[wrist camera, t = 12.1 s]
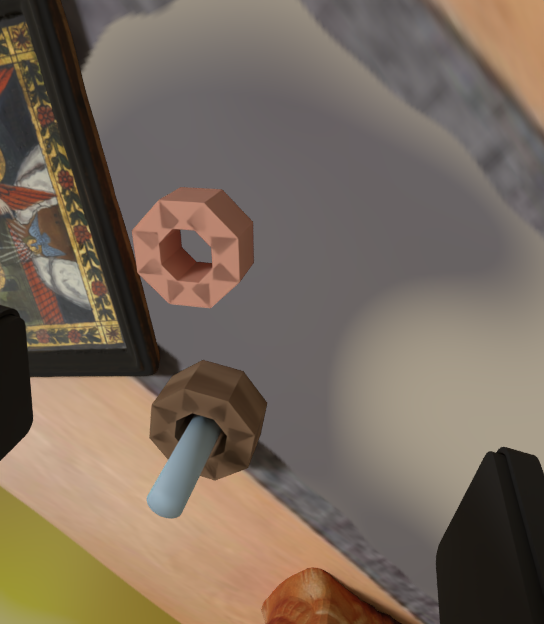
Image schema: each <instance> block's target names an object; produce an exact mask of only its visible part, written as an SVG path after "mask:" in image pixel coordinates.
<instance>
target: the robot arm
mask: <svg viewBox="0 0 544 624" xmlns="http://www.w3.org/2000/svg"><path fill="white" fill-rule="evenodd" d="M32 422H33V410H32V397H31V385H30V373H29V360H28V348H27V336H26V325H25V321H24V320H23V319H22V318H20V314H19V313H18V311H17V310H15V309H13V308H10V307H6V306H3V305H0V461H1V460H2V459H3V458H4V457H5V456H6V455H7V454H8V453H9V452H10V451H11V450H12V449H13V448H14V447H15V446H16V445H17V444H18V443H19V442H20V441H21V440H22V439H23V438H24V437H25V435H26V434H27V433H28V432H29V430H30V428H31V425H32ZM436 573H437V587H438V601H439V615H440V624H544V473H543V470H542V467H541V464H540V462H539V460H538V458H537V457H536V456H535V455H531V454H528V453H524V452H521V451H517V450H514V449H510V448H507V447H501V448H500V449H498V451H497V452H496V453H495V452H491V451H490V452H488V453H486V455H485V457H484V458H483V461H482V462H481V464H480V466H479V468H478V470H477V472H476V474H475V476H474V478H473V480H472V482H471V484H470V486H469V488H468V489H467V491H466V493H465V495H464V497H463V499H462V501H461V503H460V505H459V507H458V509H457V511H456V513H455V515H454V517H453V519H452V520H451V522H450V524H449V526H448V528H447V530H446V532H445V534H444V536H443V538H442V540H441V542H440V544H439V546H438V550H437V555H436Z"/></svg>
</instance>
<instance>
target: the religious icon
mask: <svg viewBox="0 0 544 624" xmlns="http://www.w3.org/2000/svg"><path fill="white" fill-rule="evenodd" d="M0 305H3V306H6V307H10V308H13V309H15V310H17V311H18V313H19V314H20V318H22V319H23V320H24V321H25V325H26V336H27V348H28V360H29V373H30V377H55V376H147V375H153V374H155V373H156V372H157V370H158V366H159V361H160V354H159V350H158V346H157V342H156V338H155V334H154V330H153V326H152V322H151V319H150V315H149V310H148V307H147V303H146V298H145V294H144V290H143V286H142V282H141V279H140V275H139V274H138V273H137V265H136V261H135V258H134V254H133V250H132V247H131V244H130V241H129V237H128V234H127V231H126V227H125V224H124V220H123V218H122V214H121V211H120V208H119V205H118V202H117V199H116V196H115V192H114V188H113V184H112V180H111V176H110V173H109V170H108V166H107V162H106V159H105V155H104V152H103V149H102V145H101V141H100V138H99V134H98V130H97V127H96V124H95V120H94V117H93V114H92V110H91V107H90V104H89V101H88V97H87V93H86V90H85V86H84V82H83V78H82V74H81V71H80V67H79V64H78V59H77V55H76V51H75V47H74V43H73V39H72V36H71V32H70V29H69V26H68V22H67V19H66V16H65V13H64V10H63V7H62V3H61V0H0Z"/></svg>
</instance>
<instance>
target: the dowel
mask: <svg viewBox="0 0 544 624" xmlns="http://www.w3.org/2000/svg"><path fill="white" fill-rule="evenodd" d="M221 431H222V429H221V428H220V427H219V425H218V424H217V423H216V422H215V420H214V419H210V418H207V417H204V416H200V415H197V414H195V415H194V416H193V418H192V420H191V422H190V423H189V425H188V427H187V428H186V430H185V432H184V434H183V435H182V437H181V439H180V441H179V442H178V444H177V446H176V447H175V449H174V451H173V453H172V454H171V456H170V458H169V460H168V461H167V463H166V465H165V466H164V468H163V470H162V472H161V473H160V475H159V477H158V479H157V480H156V482H155V484H154V485H153V487H152V489H151V491H150V492H149V494H148V496H147V503H148V506H149V507H150V508H151V510H152V511H153V512H155V513H156V514H158V515H159V516H162V517H165V518H176V517H178V516H180V515H181V513H182V511H183V509H184V507H185V505H186V503H187V501H188V499H189V497H190V495H191V493H192V491H193V489H194V487H195V484H196V482H197V480H198V478H199V476H200V474H201V472H202V470H203V468H204V466H205V464H206V462H207V460H208V457H209V455H210V453H211V451H212V449H213V447H214V445H215V443H216V441H217V439H218V437H219V435H220V433H221Z"/></svg>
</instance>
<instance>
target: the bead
mask: <svg viewBox="0 0 544 624" xmlns="http://www.w3.org/2000/svg"><path fill="white" fill-rule="evenodd" d="M266 407H267V402H266V401H265V399H264V398H263V397H262V395H261V394H260V393H259V391H258V390H257V389H256V387H255V386H254V385H253V383H252V382H251V381H250V379H249V378H248V377H247V376H246V374H245V373H244V371H241V370H237V369H234V368H230V367H227V366H223V365H219V364H216V363H212V362H209V361H205V360H202V361H200V362H198V363H196V364H194V365H192V366H190V367H188V368H186V369H185V370H183V371H181V372H179V373H177V374H175V375H173V376H172V377H171V379H170V380H169V382H168V383H167V384H166V386H165V387H164V388H163V390H162V391H161V393H160V394H159V395H158V397H157V398H156V400H155V401H154V402H153V404H152V408H151V423H150V439H151V440H152V441H153V443H154V444H155V445H156V446H157V447H158V448H159V449H160V451H161V452H162V453H163V454H164V455H165V456H166V458H167V459H168V460H169V458H170V456H171V454H172V453H173V451H174V449H175V447H176V446H177V444H178V442H179V441H180V439H181V437H182V435H183V434H184V432H185V430H186V428H187V427H188V425H189V423H190V422H191V420H192V418H193V416H194V415H195V414H197V415H200V416H204V417H207V418H210V419H214V420H215V422H216V423H217V424H218V425H219V427H220V428H221V429H222V431H221V433H220V435H219V437H218V439H217V441H216V443H215V445H214V447H213V449H212V451H211V453H210V455H209V457H208V460H207V462H206V464H205V466H204V468H203V470H202V472H201V474H200V476H202V477H206V478H209V479H212V480H218V479H220V478H223V477H226V476H228V475H231V474H233V473H236V472H239V471H241V470H244V469H247V468H248V467H249V464H250V461H251V459H252V456H253V453H254V451H255V448H256V445H257V443H258V440H259V437H260V435H261V430H262V426H263V421H264V416H265V411H266Z"/></svg>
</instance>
